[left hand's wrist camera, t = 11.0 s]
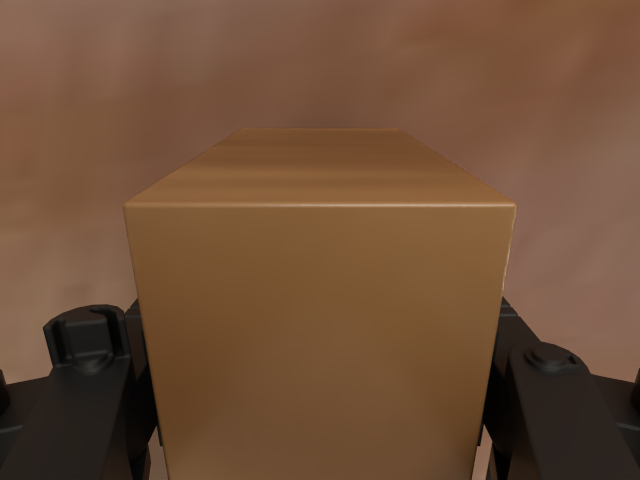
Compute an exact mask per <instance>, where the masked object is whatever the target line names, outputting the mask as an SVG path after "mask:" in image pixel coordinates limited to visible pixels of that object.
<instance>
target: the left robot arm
mask: <svg viewBox="0 0 640 480" xmlns="http://www.w3.org/2000/svg"><path fill="white" fill-rule="evenodd" d="M43 331H44V335H45V338H46V342H47V346H48V350H49V354H50V358H51V361H52V365H53V368H52V370H51V372H50V374H49V376H47V377H43V378H38V379H33V380H28V381H23V382H18V383H13V384H7V385H6V382H5V379H4V375H3V372H2V370H1V369H0V480H149V473H150V465H151V460H150V453H149V447H148V442H149V440H150V438H151V436H152V434H153V432H154V430H155V427H156V425H157V430H158V436H159V442H160V446H163V444H162V438H161V432H160V426H159V420H158V414H157V408H156V402H155V396H154V390H153V384H152V378H151V372H150V366H149V360H148V354H147V348H146V342H145V336H144V330H143V324H142V318H141V313H140V307H139V301H138V298H137V299H136V301H135V302H134V303H133V304H132V305H131V307H130V309H128V310H127V311H126V313H125V314H124V311H123V310H121V309H120V308H119V307H117V306H112V305H107V304H104V305H89V306H84V307H79V308H75V309H73V310H70V311H67V312H64V313H62V314H60V315H58V316H56V317H55V318H53V319H51V320H50V321H49V322H48V323H47V324H46V325H45V326H44V327H43ZM484 425H485V427H486V429H487V431H488V433H489V435H490V437H491V439H492V441H493V442H492V447H491V453H490V458H489V463H488V469H487V474H486V480H640V368H639V370H638V374H637V377H636V380H635V383H633V382H628V381H622V380H617V379H612V378H607V377H602V376H597V375H593V374H591V373H590V371H589V369H588V367H587V366H586V365H585V364H584V362H583V361H582V360H581V359H580V358H579V357H578V356H576V355H575V354H573V353H572V352H570V351H569V350H566V349H564V348H561V347H559V346H557V345H554V344H550V343H545V342H541V341H540V340H539V339H538V338H537V336H536V335H535V334H534V333H533V332H532V330H531V329H530V328H529V327H528V326H527V324H526V323H525V322H524V321H523V320H522V319H521V317H520V316H518V314H517V313H516V311H515V310H514V309H513V308H512V307H510V304H509V303H508V302H507V301H506V300H505V298H504V297H503V296H502V301H501V307H500V313H499V319H498V325H497V331H496V337H495V343H494V349H493V355H492V361H491V367H490V373H489V379H488V385H487V391H486V396H485V402H484V408H483V414H482V420H481V426H480V432H479V438H478V444H477V446H480V444H481V438H482V432H483V426H484Z"/></svg>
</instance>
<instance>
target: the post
mask: <svg viewBox="0 0 640 480" xmlns="http://www.w3.org/2000/svg"><path fill="white" fill-rule="evenodd" d="M123 211H124V217H125V223H126V229H127V235H128V241H129V247H130V253H131V259H132V265H133V271H134V277H135V283H136V289H137V295H138V301H139V307H140V313H141V318H142V324H143V330H144V336H145V342H146V348H147V354H148V360H149V366H150V372H151V378H152V384H153V390H154V396H155V402H156V408H157V414H158V420H159V426H160V432H161V438H162V444H163V450H164V456H165V461H166V467H167V473H168V479H169V480H472V474H473V468H474V462H475V456H476V450H477V444H478V438H479V432H480V426H481V420H482V414H483V408H484V402H485V396H486V391H487V385H488V379H489V373H490V367H491V361H492V355H493V349H494V343H495V337H496V331H497V325H498V319H499V313H500V307H501V301H502V295H503V290H504V284H505V278H506V272H507V266H508V260H509V254H510V248H511V242H512V236H513V230H514V224H515V218H516V212H517V204H516V202H514V201H512V200H511V199H509V198H508V197H506V196H504V195H503V194H501V193H500V192H498V191H497V190H495V189H493V188H492V187H490V186H489V185H487V184H486V183H484V182H482V181H481V180H479V179H478V178H476V177H475V176H473V175H471V174H470V173H468V172H467V171H465V170H463V169H462V168H460V167H459V166H457V165H456V164H454V163H452V162H451V161H449V160H448V159H446V158H445V157H443V156H441V155H440V154H438V153H437V152H435V151H434V150H432V149H430V148H429V147H427V146H426V145H424V144H422V143H421V142H419V141H418V140H416V139H415V138H413V137H411V136H410V135H408V134H407V133H405V132H404V131H402V130H400V129H398V128H242V129H240V130H238V131H237V132H235V133H234V134H232V135H231V136H229V137H227V138H226V139H224V140H223V141H221V142H219V143H218V144H216V145H215V146H213V147H212V148H210V149H208V150H207V151H205V152H204V153H202V154H200V155H199V156H197V157H196V158H194V159H193V160H191V161H189V162H188V163H186V164H185V165H183V166H181V167H180V168H178V169H177V170H175V171H174V172H172V173H170V174H169V175H167V176H166V177H164V178H162V179H161V180H159V181H158V182H156V183H154V184H153V185H151V186H150V187H148V188H147V189H145V190H143V191H142V192H140V193H139V194H137V195H135V196H134V197H132V198H131V199H129V200H128V201H126V202H124V205H123Z"/></svg>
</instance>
